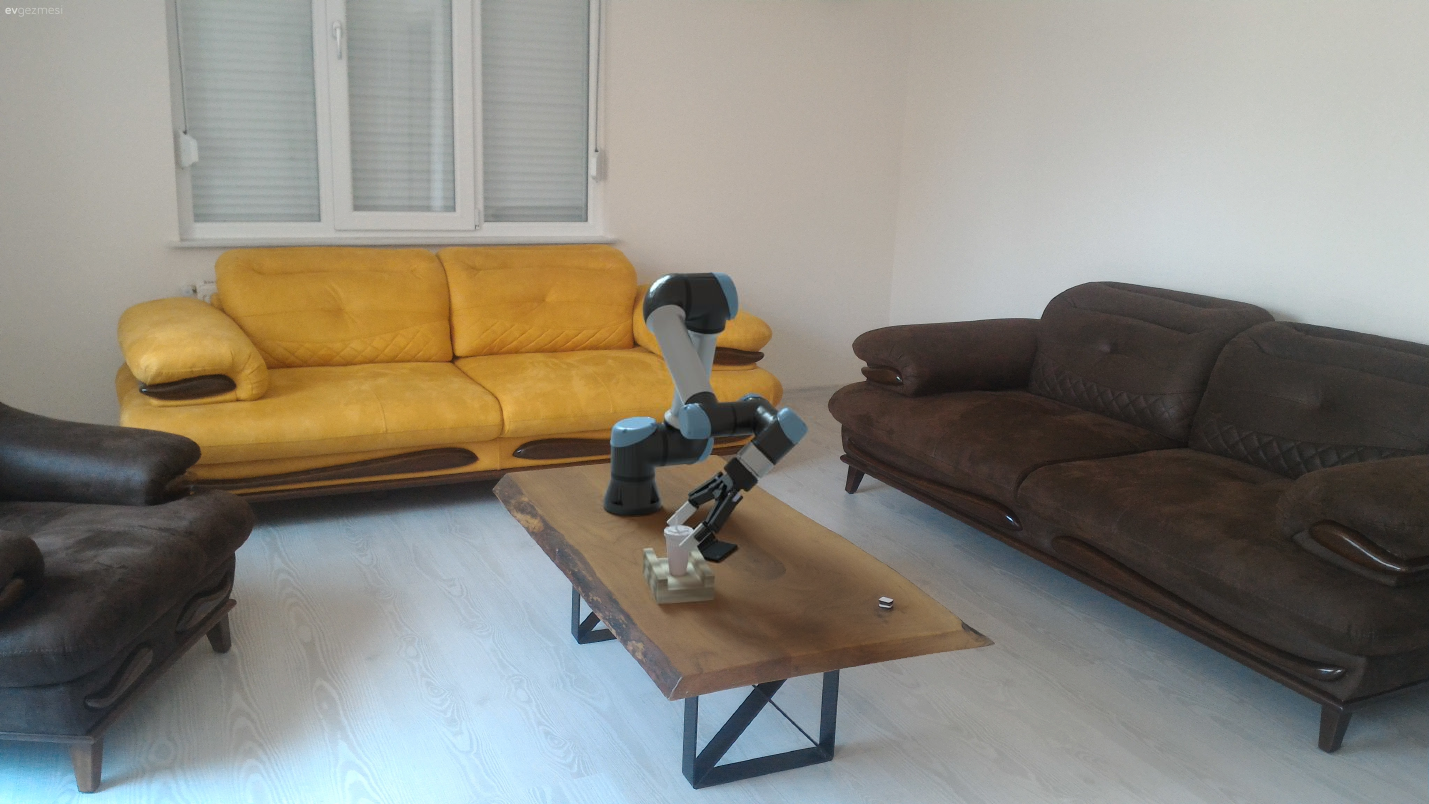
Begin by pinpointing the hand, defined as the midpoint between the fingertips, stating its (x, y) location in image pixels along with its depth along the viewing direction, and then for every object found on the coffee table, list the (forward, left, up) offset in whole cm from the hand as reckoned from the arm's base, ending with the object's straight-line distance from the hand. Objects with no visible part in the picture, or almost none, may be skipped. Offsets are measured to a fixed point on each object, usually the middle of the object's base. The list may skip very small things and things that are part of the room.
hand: (677, 537), depth 218 cm
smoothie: (0, 0, -8) cm, 8 cm away
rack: (0, 0, -11) cm, 11 cm away
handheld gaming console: (-18, +12, -12) cm, 25 cm away
